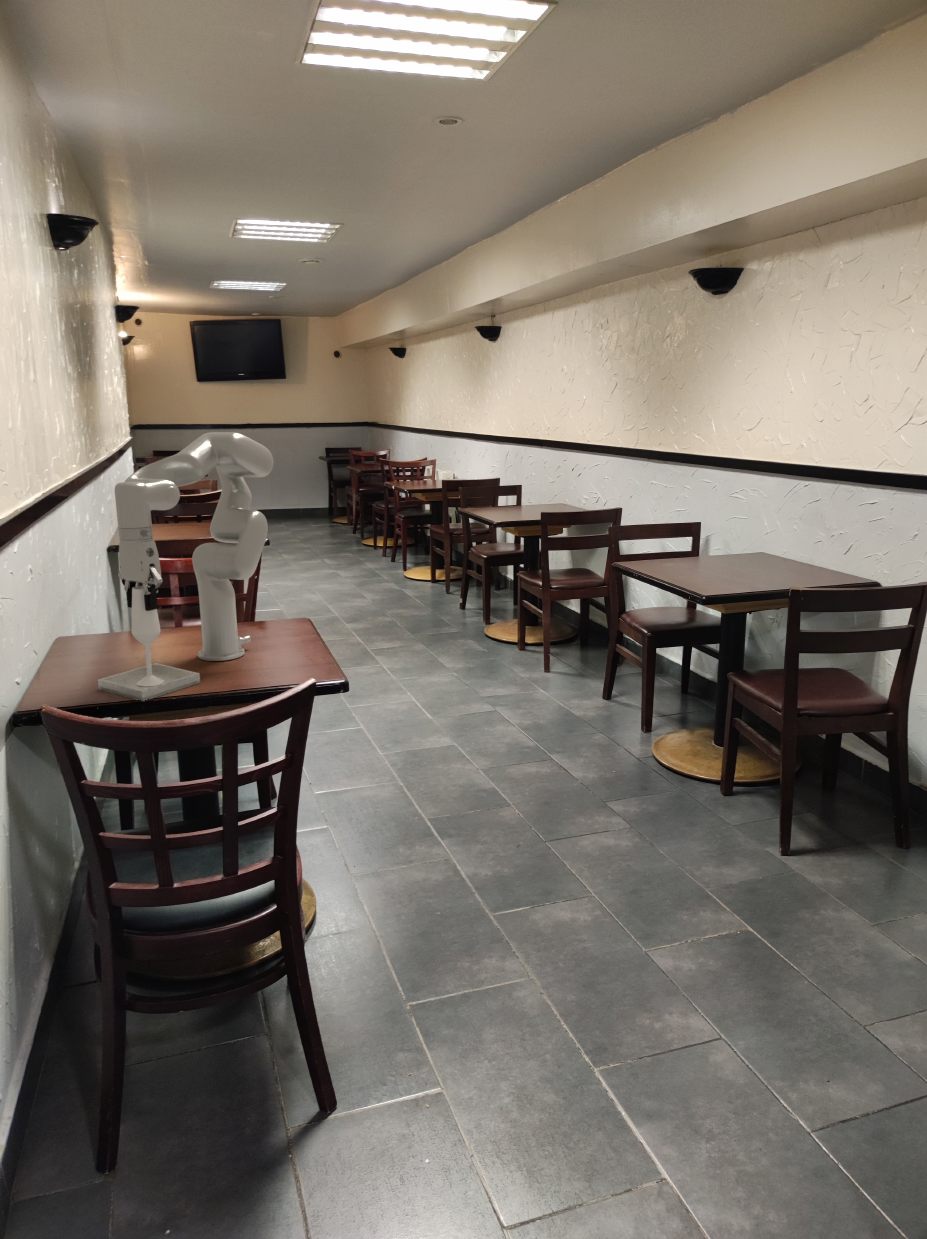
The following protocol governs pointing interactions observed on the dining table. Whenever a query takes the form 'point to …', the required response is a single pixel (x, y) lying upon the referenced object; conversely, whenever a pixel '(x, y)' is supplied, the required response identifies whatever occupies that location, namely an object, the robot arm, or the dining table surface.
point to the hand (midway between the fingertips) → (142, 607)
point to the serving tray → (127, 686)
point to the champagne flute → (145, 631)
